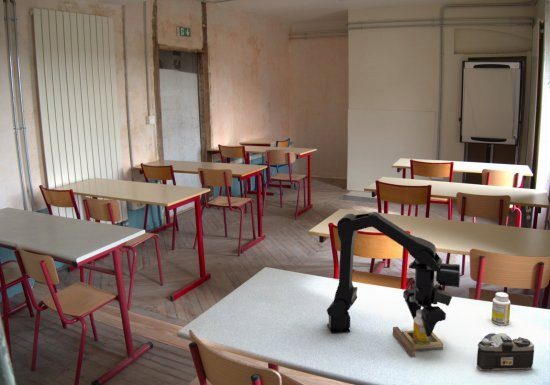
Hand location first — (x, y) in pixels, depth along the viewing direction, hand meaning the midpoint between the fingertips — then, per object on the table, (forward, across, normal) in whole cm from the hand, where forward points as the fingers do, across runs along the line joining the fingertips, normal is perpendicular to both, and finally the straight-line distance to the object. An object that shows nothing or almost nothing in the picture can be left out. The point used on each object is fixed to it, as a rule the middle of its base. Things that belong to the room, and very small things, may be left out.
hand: (422, 329), depth 155 cm
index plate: (+5, 0, 0) cm, 5 cm away
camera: (+5, -14, -18) cm, 23 cm away
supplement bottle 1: (+4, 0, 0) cm, 4 cm away
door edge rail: (+5, 0, +6) cm, 8 cm away
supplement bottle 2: (+5, +10, -32) cm, 34 cm away
